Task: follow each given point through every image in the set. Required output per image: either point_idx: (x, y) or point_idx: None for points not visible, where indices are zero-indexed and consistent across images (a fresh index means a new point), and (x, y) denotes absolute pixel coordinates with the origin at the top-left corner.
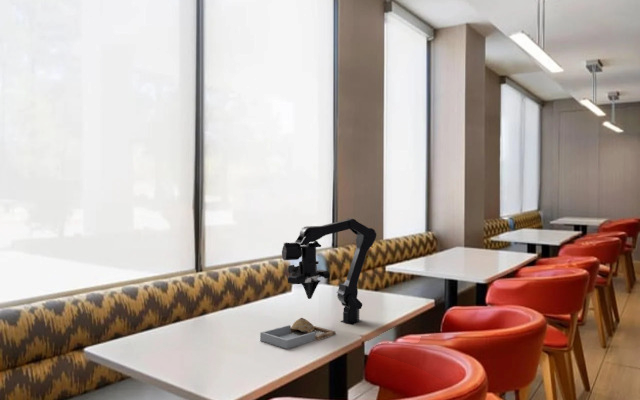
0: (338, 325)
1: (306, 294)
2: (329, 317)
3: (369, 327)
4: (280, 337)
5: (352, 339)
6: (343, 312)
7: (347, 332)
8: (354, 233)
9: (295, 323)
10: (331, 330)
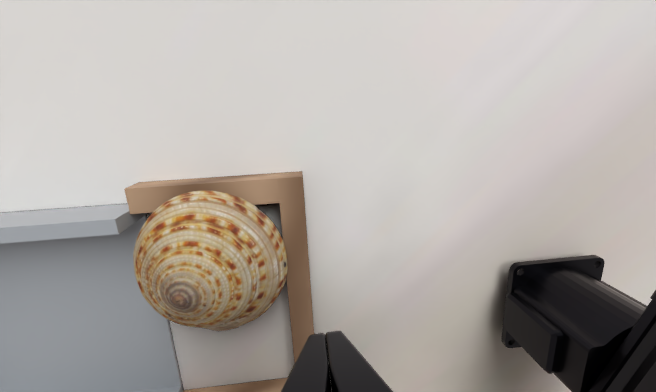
0: (477, 266)
1: (286, 381)
2: (599, 89)
3: (541, 380)
4: (31, 254)
5: None
6: (549, 336)
7: (403, 381)
8: None
9: (139, 269)
10: None
